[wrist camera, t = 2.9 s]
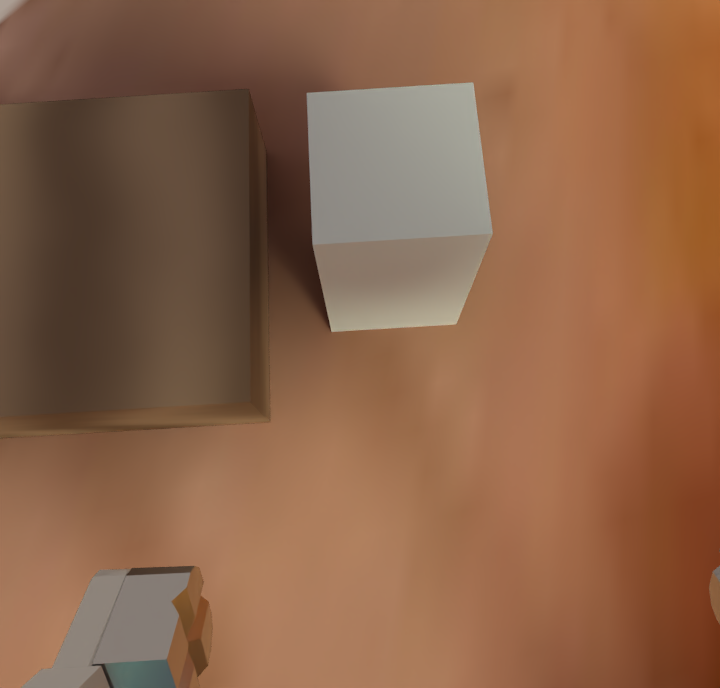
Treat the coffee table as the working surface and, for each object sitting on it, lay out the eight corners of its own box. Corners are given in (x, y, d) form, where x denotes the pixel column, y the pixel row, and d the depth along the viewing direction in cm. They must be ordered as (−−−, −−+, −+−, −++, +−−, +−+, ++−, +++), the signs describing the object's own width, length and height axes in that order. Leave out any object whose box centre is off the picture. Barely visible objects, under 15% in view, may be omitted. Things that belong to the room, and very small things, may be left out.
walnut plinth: (266, 150, 27) (248, 88, 23) (270, 422, 24) (250, 401, 20) (-6, 167, 27) (-68, 108, 23) (-41, 440, 24) (-121, 423, 20)
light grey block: (444, 212, 26) (473, 82, 19) (456, 324, 25) (492, 233, 17) (326, 219, 26) (306, 92, 19) (331, 332, 25) (312, 244, 17)
